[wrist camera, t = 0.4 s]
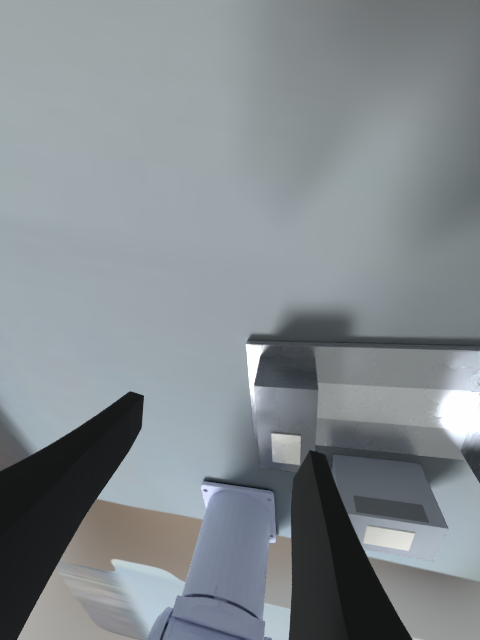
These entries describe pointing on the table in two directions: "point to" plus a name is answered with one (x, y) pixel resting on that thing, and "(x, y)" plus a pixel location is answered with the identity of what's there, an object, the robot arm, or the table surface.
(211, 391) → the table surface
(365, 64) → the table surface
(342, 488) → the block
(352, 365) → the rail base
